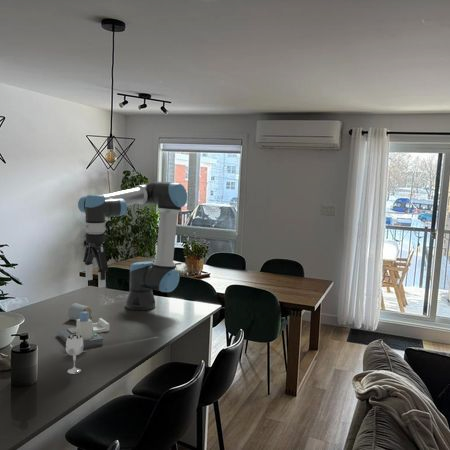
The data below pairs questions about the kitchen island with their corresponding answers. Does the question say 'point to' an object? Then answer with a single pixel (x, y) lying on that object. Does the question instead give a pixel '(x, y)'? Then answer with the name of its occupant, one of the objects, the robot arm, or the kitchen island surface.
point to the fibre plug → (84, 326)
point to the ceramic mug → (78, 311)
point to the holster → (100, 326)
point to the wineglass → (74, 350)
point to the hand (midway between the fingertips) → (95, 283)
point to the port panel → (87, 343)
